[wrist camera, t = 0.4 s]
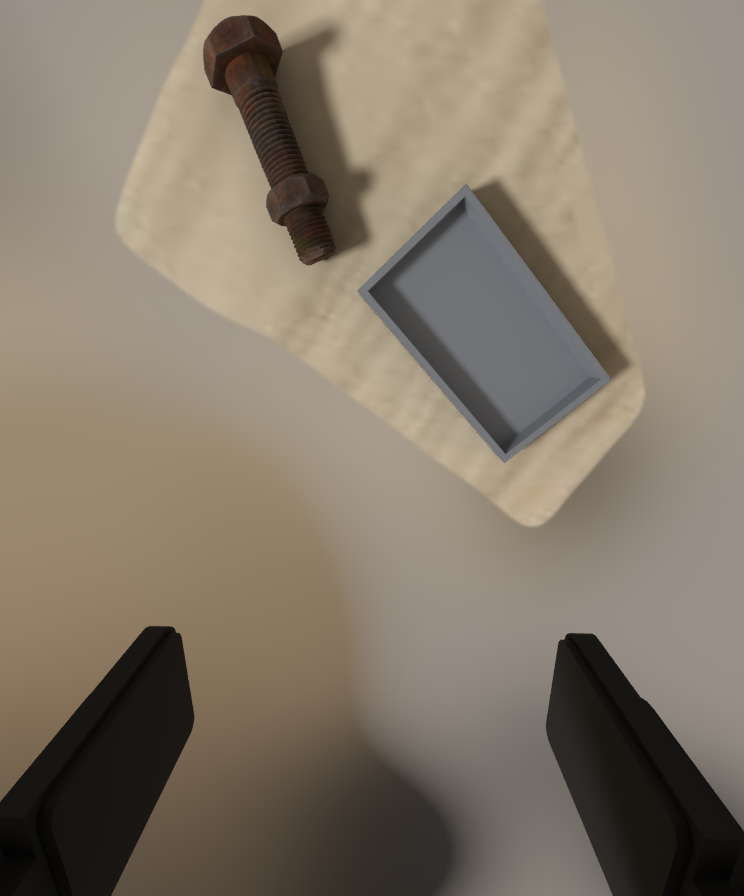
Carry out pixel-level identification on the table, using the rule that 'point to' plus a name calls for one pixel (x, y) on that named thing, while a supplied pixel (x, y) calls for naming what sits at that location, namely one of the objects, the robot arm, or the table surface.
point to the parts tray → (483, 327)
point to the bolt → (269, 129)
